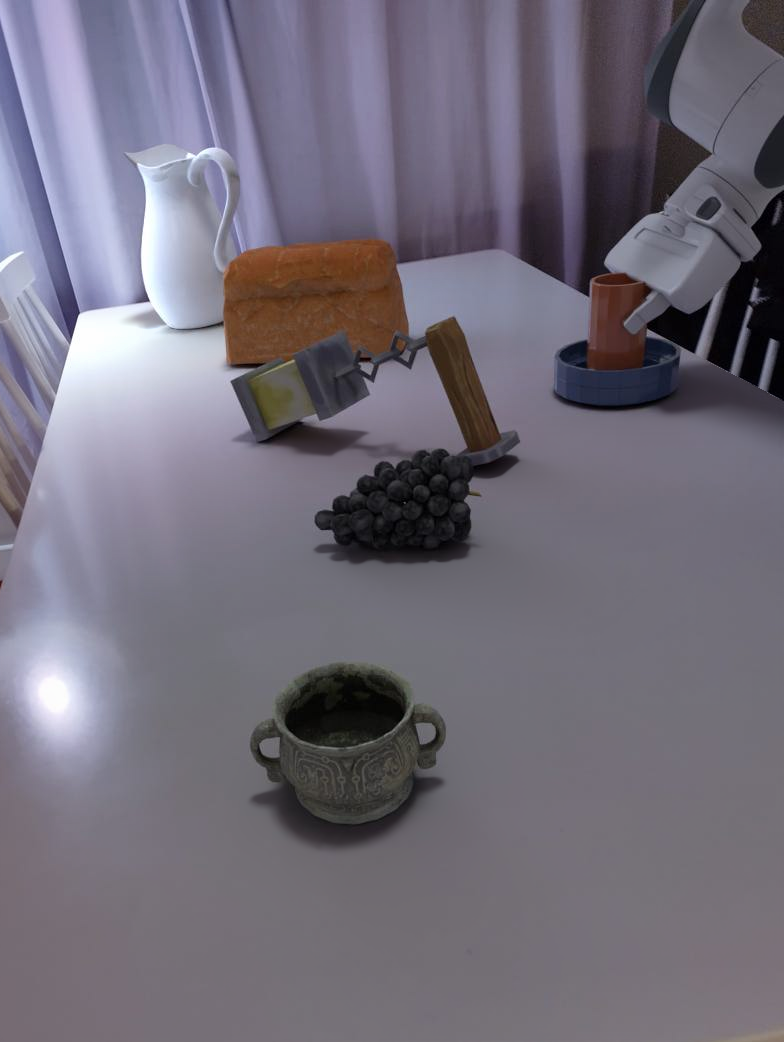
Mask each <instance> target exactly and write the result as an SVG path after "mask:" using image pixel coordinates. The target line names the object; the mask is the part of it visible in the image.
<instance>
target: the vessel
mask: <svg viewBox="0 0 784 1042" xmlns="http://www.w3.org/2000/svg"><path fill="white" fill-rule="evenodd" d="M415 699H416V698H415V691H414V690H413V688H412V686H411V685H410V683H409V682H408V680H406V679H405V678H404V677H403V676H401V674H398V673H396V672H395V671H393V670H391V669H389V668H387V667H386V666H382V665H379V664H374V663H372V662H371V663H370V662H360V661H359V662H358V661H337V662H332V663H327V664H325V665H321V666H317V667H313V668H311V669H308V670H307V671H305V672H303V673H301V674H299V675H296V676H295V677H294V678H293V679H292V680H290V681H289V682H288V683H287V684H286V685H284V686H283V687H282V688H281V689H280V690H279V692H278V694H276V696H275V698H274V701H273V703H272V706H271V715H272V718H266V719H264V720H263V721H261V722H260V723H259V724H257V725H256V726H255V727H254V729H253V731H252V734H251V736H250V741H249V749H250V752H251V755H252V757H253V759H254V760H255V762H256V763H257V764H258V765H259V766H261V767H262V768H265V770H266V776H267V779H268V780H270V782H272V783H283V782H284V780H285V779H286V780H287V781H288V782H289V783H290V784H291V786H293V787H294V792H295V795H296V798H297V800H298V802H299V803H300V805H301V806H302V807H304V808H305V810H307V811H309V813H311V814H312V815H313V816H315V817H317V818H319V819H322V820H324V821H327V822H329V823H332V824H343V825H354V826H355V825H361V824H365V823H368V822H373V821H377V820H379V819H382V818H383V817H385V816H387V815H389V814H391V813H393V812H395V811H397V810H398V808H400V806H402V805H403V803H404V802H405V801H406V800H407V799H408V798H409V797H410V795H411V792H412V790H413V786H414V775H413V771H414V769H415V768H416V765H417V766H418V767H419V769H421V770H428V769H431V768H433V767H434V766H436V765H437V752H438V751H440V749H441V748H442V747H443V745H444V744H445V741H446V736H447V725H446V723H445V720H444V718H443V717H442V715H441V714H440V713H439V711H438V709H436V708H434V707H433V706H431V705H428V704H426V703H423V702H422V703H417V704H416V702H415V701H416V700H415ZM423 723H424V724H431V725H432V726H433V727H434V728H435V734H434V738H433V739H432V740H431V741H429V742H427V743H421V742H420V737H419V733H418V728H417V725H416V724H423ZM274 738H279V743H278V744H279V745H278V746H279V747H278V754H279V756H277V757H270V756H267V755H265V754H263V753H262V750H261V747H260V744H261V743H262V742H263V741H264V740H267V739H274Z"/></svg>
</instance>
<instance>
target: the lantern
mask: <svg viewBox="0 0 784 1042" xmlns="http://www.w3.org/2000/svg"><path fill="white" fill-rule="evenodd" d="M399 338H400V339H402V340H404V341H405V342H406V346H405V350H406V351H408V352H410V355H409V357H408V360H405V359H403V358H402V357H401V353H402V351H401V350H399V349H398V348H396V345H397V342H398V339H399ZM426 347H427V351H428V353H429V355H430V358H431V360H432V362H433V365H434V367H435V370H436V372H437V374H438V377H439V380H440V382H441V384H442V387H443V389H444V392H445V394H446V397H447V399H448V401H449V404H450V407H451V409H452V412H453V414H454V417H455V420H456V422H457V425H458V427H459V430H460V431H461V435H462V437H463V439H464V443H465V446H466V448H464V449H463V450H461V452H459V453H458V454H456V455H455V456H456V457H458V456H460V455H466V456H467V457H469V458H470V459H472V463H473V467H474V466H479V465H484V464H489V463H491V462H493V461H495V460H498V459H499V458H502V457H503V456H505V455H506V454H507V453H508V452H510V451H511V450H512V449H514V448H515V447H516V446H518V445H519V444H520V443H521V438H520V436H519V433H518V431H517V430H514V429H513V430H508V431H504V432H500V431H499V428H498V426H497V422H496V420H495V417H494V414H493V412H492V409H491V407H490V403H489V401H488V398H487V396H486V392H485V390H484V387H483V385H482V382H481V380H480V377H479V374H478V371H477V369H476V366H475V362H474V361H473V357H472V354H471V351H470V347H469V345H468V342H467V338H466V335H465V333H464V331H463V329H462V328H461V325H460V324H459V322H458V320H457V318H456V316H455V315H453V316H450V317H447V318H446V319H443V320H441V321H438V322H436V323H434V324H432V325H430V326H428V327H426V330H425V332H424V336H423V335H422V336H421V337H419V338H417V339H413V338H411V337H410V336H409V337H408V336H406V335H404V334H403V333H401V332H399V331H398V330H395V333H394V336H393V340H392V343H391V346H390V349H389V350H387V351H385V352H382V353H380V354H378V355H376V354H374V353H372V352H371V351H369V350H367V349H366V348H364V347H362V346H361V345H358V348H357V352H356V355H354V352H353V350H352V347H351V344H350V342H349V339H348V337H347V334H346V332H345V330H344V331H342V332H339V333H337V334H335V335H332V336H330V337H328V338H326V339H324V340H322V341H320V342H318V343H316V344H314V345H312V346H310V347H308V348H305V349H303V350H301V351H299V352H297V353H295V354H293V355H292V356H293V358H294V360H291V361H289V362H283V360H282V358H281V357H280V358H278V359H275V360H273V361H271V362H268V363H263V364H262V365H260V366H258V367H257V368H253V369H252V370H250V371H248V372H245V373H244V374H241V375H240V376H237V377H236V378H235V377H234V378H233V379H231V380H230V381H229V382H230V384H231V387H232V389H233V391H234V394H235V395H236V398H237V400H238V402H239V405H240V407H241V409H242V411H243V414H244V416H245V418H246V421H247V423H248V425H249V428H250V430H251V432H252V435H253V436H254V439H255V441H256V443H259V442H262V441H265V440H268V439H270V438H271V437H273V436H275V435H277V434H278V433H280V432H282V431H284V430H286V429H287V428H289V427H291V426H292V425H295V424H296V423H298V422H300V421H302V420H304V419H305V418H308V417H310V416H314V415H316V416H317V418H318V421H319V422H322V421H324V420H327V419H331V418H333V417H335V416H336V415H338V414H339V413H341V412H343V411H344V410H346V409H348V408H350V407H351V406H353V405H355V404H357V403H360V401H363V400H364V399H366V398H368V397H369V396H371V393H370V390H369V388H368V386H367V382H366V381H365V379H366V380H368V381H369V382H371V383H373V384H375V381H376V377H377V374H378V370H379V369H380V368H379V367H380V365H382V364H385V363H386V362H389V361H391V360H393V361H395V362H397V363H399V364H400V365H402V366H403V367H405V368H407V369H409V370H410V371H412V368H413V365H414V363H415V359H416V356H417V353H418V351H420V350H423V349H424V348H426ZM361 353H364V354H366V355H367V356H369V357H370V358H369V359H370V361H369V363H370V364H371V365H373V366H372V370H371V374H370V373H367V372H366V371H364V370H363V369H362V364H359V363H360V360H361V358H360V356H361Z"/></svg>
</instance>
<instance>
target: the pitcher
mask: <svg viewBox="0 0 784 1042" xmlns="http://www.w3.org/2000/svg"><path fill="white" fill-rule="evenodd" d="M123 155H124V156H125V158H126V159H127V160H128V161H129V162H130V163H131V165H132V166H133V167H134V168H135V169H136V171H137V172H138V174H139V176H140V178H141V181H142V184H143V188H144V189H143V191H144V208H143V214H142V222H141V228H140V229H141V230H140V236H139V248H138V249H139V250H138V251H139V253H138V254H139V255H138V256H139V269H140V276H141V280H142V284H143V287H144V290H145V293H146V296H147V298H148V300H149V302H150V303H151V305H152V306H153V308H154V310H155V312H156V313H157V314H158V316H159V317H160V318H161V320H162V321H163V322H164V323H165V324H166V325H167V326H168V327H170V328H172V329H174V330H175V329H176V330H190V329H193V330H194V329H200V328H205V327H210V326H214V325H218V324H220V323H222V322H223V323H224V321H223V307H224V299H225V297H224V296H223V283H224V281H223V273H224V271H225V270H226V268H227V266H228V265H229V263H230V262H231V261H233V260H234V259H235V258H237V257H238V256H239V255H238V253H237V249H236V245H235V242H234V239H233V237H232V233H231V232H230V230H231V226H232V223H233V220H234V218H235V215H236V212H237V209H238V205H239V201H240V196H241V178H240V172H239V170H238V167H237V165H236V162H235V160H234V159H233V158H232V156H231V155H230V153H228V152H227V151H226V150H224V149H223V148H220V147H208V148H206V149H203V150H201V151H200V152H199V153H198V154H197V155H195V154H193V153H191V152H189V151H187V150H185V149H183V148H181V147H179V146H177V145H175V144H171V143H163V144H159V145H155V146H153V147H150V148H147V149H144V150H141V151H137V152H127V151H123ZM211 160H212V161H214V162H215V163H217V165H218V166H219V167H220V169H221V171H222V173H223V175H224V178H225V183H226V202H225V207H224V211H223V215H222V213H221V211H220V210H219V208H218V206H217V204H216V202H215V200H214V198H213V196H212V194H211V192H210V189H209V186H208V184H207V179H206V176H205V170H206V167H207V165H208V164H209V162H210V161H211Z"/></svg>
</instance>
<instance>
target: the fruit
mask: <svg viewBox="0 0 784 1042" xmlns="http://www.w3.org/2000/svg"><path fill="white" fill-rule="evenodd" d="M473 478H474V466H473V463H472V459H470V458H469V457H467V456H466V455H460V456H458V457H456V455H450V453H449V452H448V450H446V449H444V448H436V449H434V450H432V452H431V453H430V452H429V451H428V450H426V449H420V450H417V451H415V453H414V454H413V455H412V456H411V460H410V459H403V460H401V461H400V462H398V463H396V466H395V467H394V465H393V464H392V463H390V462H389V461H384V460H381V461H379V462H377V464H375V466H374V469H373V475H368V474H363V475H362V476H359V477H358V479H357V481H356V487H355V488H354V489H353V490H351V491H350V493H349V496H347V495H346V494H345V495H343V494H342V495H337V496H336V497H335V498H333V500H332V505H331V509H332V510H331V509H321V510H319V511H317V512H316V514H315V515H314V525H315V527H317V528H318V529H319V530H320V531H332V533H333V539H334V541H335V543H336V544H338V545H340V546H343V547H347V546H350V545H352V543H353V542H354V543H355V544H358V545H359V544H360V545H364V544H366V543H367V542H370V541H371V543H372V546H373V548H375V549H376V550H381V551H384V550H386V549H387V548H388V547H389V546H390V544H391V542H392V544H393V545H395V546H396V547H403V546H405V545H409V546H414V547H415V546H420V545H422V547H424V548H425V549H427V550H434V549H438V547H439V545H440V544H441V542H447V541H448V540H450V539H452V540H453V541H455V542H463V541H464V540H467V539H468V538H469V536H470V533H471V530H472V520H471V514H472V513H471V512H472V510H471V507H470V506H469V504H468V503H467V502H466V501H465V500H466V498H467V497H468V496H472V497H473V496H474V497H480V498H481V497H483V496H482V494H480V492H477V491H472V490H470V484H469V483H470V482H471V481H472V479H473Z"/></svg>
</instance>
